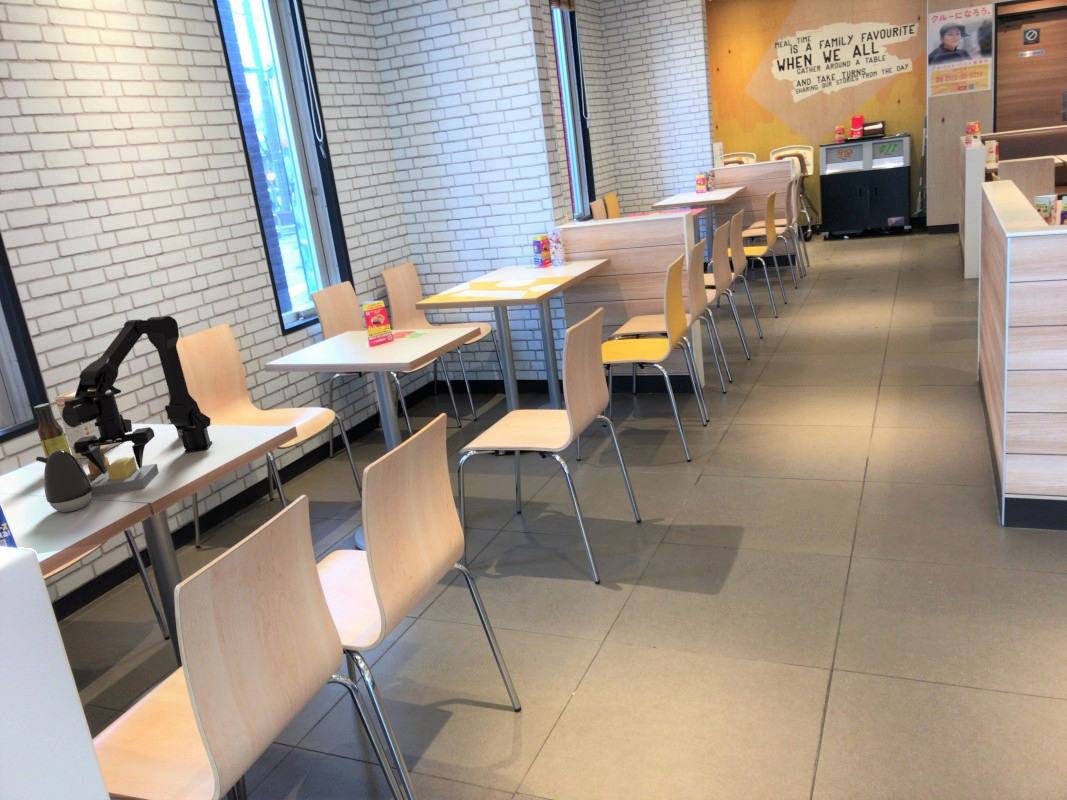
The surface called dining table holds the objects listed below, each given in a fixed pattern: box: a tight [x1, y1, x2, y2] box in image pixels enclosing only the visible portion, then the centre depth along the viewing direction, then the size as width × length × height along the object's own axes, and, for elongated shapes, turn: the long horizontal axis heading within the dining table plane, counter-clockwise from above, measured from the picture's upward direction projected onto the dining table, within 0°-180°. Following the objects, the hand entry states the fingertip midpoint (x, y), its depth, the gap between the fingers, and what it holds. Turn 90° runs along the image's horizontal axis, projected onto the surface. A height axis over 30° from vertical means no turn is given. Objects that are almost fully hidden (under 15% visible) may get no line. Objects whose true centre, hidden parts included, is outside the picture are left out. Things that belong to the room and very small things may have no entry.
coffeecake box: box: [54, 388, 123, 460], centre depth 256 cm, size 15×7×20 cm, turn 164°
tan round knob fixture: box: [80, 445, 111, 482], centre depth 231 cm, size 7×7×8 cm
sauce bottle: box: [33, 402, 72, 458], centre depth 239 cm, size 6×6×20 cm
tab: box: [107, 456, 138, 481], centre depth 223 cm, size 7×4×6 cm, turn 6°
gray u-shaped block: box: [90, 463, 160, 497], centre depth 222 cm, size 14×12×2 cm
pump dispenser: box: [35, 450, 92, 513], centre depth 208 cm, size 10×10×15 cm
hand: (122, 470), depth 223 cm, fingers open, 9 cm apart
